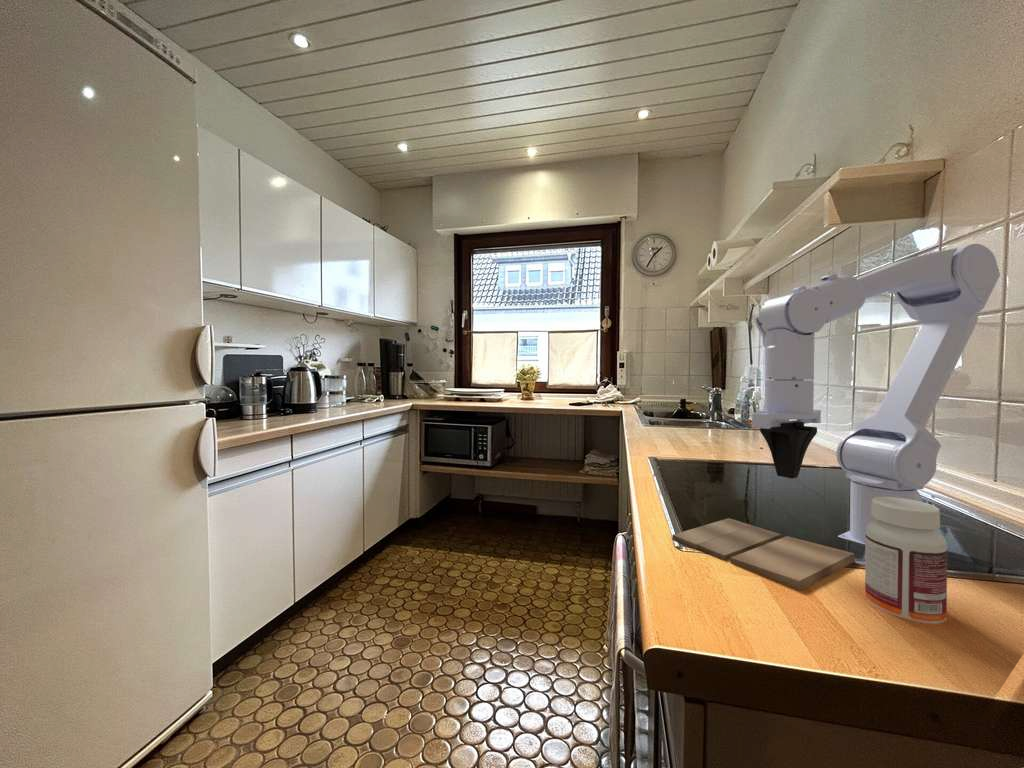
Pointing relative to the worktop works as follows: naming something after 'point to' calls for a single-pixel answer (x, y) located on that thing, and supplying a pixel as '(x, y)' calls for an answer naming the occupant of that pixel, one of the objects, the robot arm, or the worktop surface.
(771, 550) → the plank
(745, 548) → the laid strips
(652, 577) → the worktop surface
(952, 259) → the robot arm
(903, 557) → the pill bottle
